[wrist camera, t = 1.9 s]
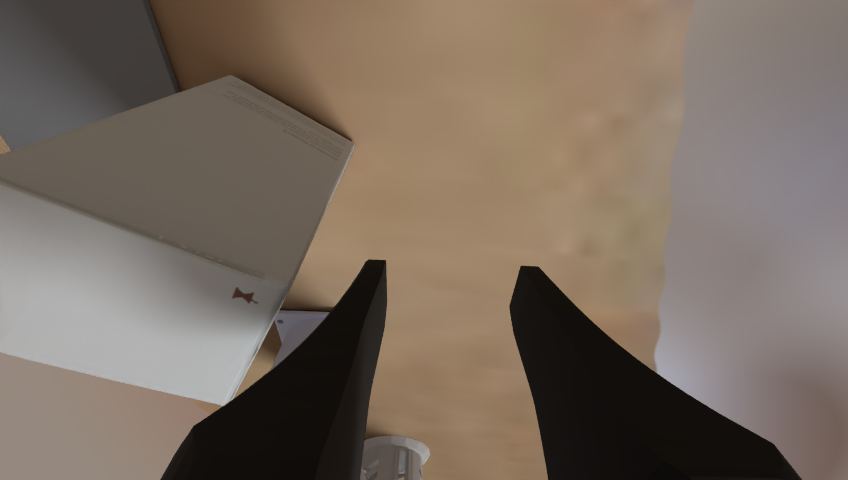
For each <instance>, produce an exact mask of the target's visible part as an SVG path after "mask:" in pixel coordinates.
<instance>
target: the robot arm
mask: <svg viewBox="0 0 848 480" xmlns="http://www.w3.org/2000/svg"><path fill="white" fill-rule="evenodd" d="M509 307H510V314H511V321H512V326H513V332H514V336H515V339H516V343H517V346H518V350H519V353H520V356H521V360H522V363H523V366H524V370H525V373H526V376H527V379H528V383H529V386H530V389H531V393H532V397H533V400H534V404H535V409H536V414H537V419H538V424H539V429H540V434H541V440H542V445H543V451H544V457H545V462H546V468H547V475H548V480H802V479H801V478H800V477H799V476H798V474H797V473H796V471H795V470H794V469H793V468H792V466H791V465H790V464H789V463H788V461H787V460H786V459H785V458H784V456H783V455H782V454H781V453H780V452H779V450H778V449H777V448H776V446H775V445H774V444H773V443H771V442H769V441H768V440H766V439H764V438H762V437H760V436H759V435H757V434H755V433H753V432H751V431H750V430H748V429H746V428H744V427H742V426H741V425H739V424H737V423H735V422H733V421H731V420H730V419H728V418H726V417H724V416H723V415H721V414H719V413H717V412H716V411H714V410H712V409H711V408H709V407H708V406H706V405H704V404H703V403H701V402H699V401H698V400H696V399H695V398H693V397H691V396H690V395H688V394H686V393H685V392H683V391H682V390H680V389H679V388H677V387H676V386H674V385H673V384H671V383H670V382H668V381H667V380H666V379H664V378H663V377H661V376H660V375H658V374H657V373H656V372H654V371H653V370H651V369H650V368H648V367H647V366H646V365H644V364H643V363H642V362H640V361H639V360H637V359H636V358H635V357H634V356H632V355H631V354H630V353H629V352H627V351H626V350H625V349H624V348H622V347H621V346H620V345H618V344H617V343H616V342H615V341H614V340H612V339H611V338H610V337H609V336H608V335H607V334H605V333H604V332H603V331H602V330H601V329H600V328H599V327H598V326H596V325H595V324H594V323H593V322H592V321H591V320H590V319H589V318H588V317H587V316H586V315H585V314H584V313H583V312H582V311H580V310H579V309H578V308H577V307H576V306H575V305H574V304H573V303H572V302H571V301H570V300H569V298H568V297H567V296H566V295H565V294H564V293H563V292H562V291H561V290H560V289H559V288H558V287H557V286H556V285H555V284H554V283H553V282H552V281H551V280H550V278H549V277H548V276H547V275H546V274H545V273H544V272H543V271H542V270H541V269H540V268H539V267H536V266H521V267H520V271H519V274H518V278H517V281H516V285H515V289H514V292H513V296H512V299H511V303H510V306H509ZM386 308H387V279H386V260H367V261H366V262H365V264H364V266H363V267H362V269H361V271H360V272H359V274H358V275H357V277H356V279H355V280H354V281H353V283H352V284H351V286H350V287H349V289H348V290H347V291H346V293H345V294H344V295H343V297H342V298H341V299H340V301H339V302H338V303H337V304H336V306H335V307H334V308H333V309H332V310H331V312H311V311H284V310H279V312H278V313H277V315H276V317H275V319H274V321H275V324H276V327H277V330H278V333H279V336H280V339H281V343H282V345H281V348H280V350H279V352H278V354H277V357H276V359H275V361H274V364H273V366H272V368H271V371H269V372H268V373H267V374H265V375H264V376H263V377H262V378H260V379H259V380H258V381H257V382H255V383H254V384H253V385H251V386H250V387H249V388H248V389H246V390H245V391H244V392H242V393H241V394H240V395H238V396H237V397H236V398H234V399H233V400H231V401H230V402H228V403H227V404H226V405H224V406H223V407H221V408H220V409H218V410H217V411H215V412H214V413H212V414H211V415H210V416H208V417H207V418H205V419H204V420H202V421H201V422H199V423H198V424H196V425H195V426H193V428H192V429H191V431H190V433H189V434H188V436H187V437H186V439H185V440H184V441H183V442H182V444H181V445H180V447H179V449H178V450H177V452H176V453H175V455H174V457H173V458H172V460H171V462H170V464H169V465H168V467H167V469H166V471H165V473H164V474H163V476H162V478H161V480H366V477H365V473H364V471H363V469H362V468H361V466H362V457H363V449H364V440H365V431H366V423H367V415H368V407H369V399H370V394H371V388H372V383H373V380H374V374H375V369H376V365H377V360H378V356H379V351H380V346H381V342H382V337H383V332H384V327H385V318H386Z"/></svg>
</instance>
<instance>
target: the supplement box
mask: <svg viewBox="0 0 848 480" xmlns="http://www.w3.org/2000/svg"><path fill="white" fill-rule="evenodd" d="M354 147H355V144H354V143H353V142H351V141H349V140H348V139H346V138H344V137H342V136H341V135H339V134H337V133H336V132H334V131H332V130H330V129H328V128H326V127H325V126H323V125H321V124H319V123H317V122H316V121H314V120H312V119H311V118H309V117H307V116H305V115H303V114H301V113H300V112H298V111H296V110H294V109H293V108H291V107H289V106H287V105H285V104H284V103H282V102H280V101H278V100H276V99H275V98H273V97H271V96H269V95H268V94H266V93H264V92H262V91H260V90H258V89H257V88H255V87H253V86H252V85H250V84H248V83H246V82H244V81H242V80H240V79H238V78H237V77H235V76H232V75H228V76H225V77H222V78H219V79H217V80H214V81H211V82H207V83H205V84H202V85H199V86H196V87H193V88H191V89H188V90H185V91H182V92H179V93H176V94H173V95H170V96H168V97H165V98H162V99H159V100H156V101H153V102H150V103H148V104H145V105H142V106H139V107H136V108H133V109H130V110H127V111H124V112H122V113H119V114H116V115H113V116H110V117H107V118H105V119H102V120H99V121H96V122H93V123H90V124H87V125H84V126H81V127H78V128H76V129H73V130H70V131H67V132H64V133H61V134H58V135H55V136H52V137H50V138H47V139H45V140H42V141H39V142H36V143H33V144H30V145H27V146H24V147H21V148H18V149H15V150H13V151H10V152H7V153H5V154H1V155H0V352H1V353H5V354H9V355H13V356H17V357H20V358H24V359H27V360H31V361H36V362H40V363H44V364H48V365H52V366H56V367H60V368H65V369H69V370H73V371H77V372H82V373H86V374H89V375H94V376H98V377H102V378H106V379H110V380H115V381H118V382H123V383H127V384H132V385H136V386H140V387H145V388H149V389H154V390H158V391H162V392H167V393H171V394H175V395H179V396H184V397H188V398H193V399H197V400H201V401H206V402H210V403H214V404H218V405H222V406H224V405H226V404H227V403H228V402H230V401H231V400H233V398H234V396H235V394H236V392H237V390H238V388H239V386H240V384H241V382H242V380H243V379H244V377H245V375H246V373H247V371H248V369H249V367H250V365H251V363H252V361H253V360H254V358H255V356H256V354H257V352H258V350H259V349H260V346H261V344H262V342H263V341H264V339H265V337H266V335H267V333H268V331H269V329H270V327H271V325H272V323H273V321H274V319H275V317H276V315H277V313H278V312H279V310H280V308H281V306H282V304H283V302H284V300H285V298H286V296H287V293H288V292H289V290H290V288H291V286H292V284H293V281H294V279H295V277H296V275H297V273H298V271H299V268H300V266H301V264H302V262H303V260H304V257H305V255H306V253H307V251H308V249H309V247H310V244H311V242H312V240H313V238H314V236H315V233H316V231H317V229H318V227H319V225H320V222H321V220H322V218H323V216H324V214H325V211H326V209H327V207H328V205H329V202H330V200H331V198H332V196H333V194H334V192H335V189H336V187H337V185H338V183H339V181H340V178H341V176H342V174H343V172H344V169H345V167H346V165H347V163H348V160H349V158H350V156H351V153H352V151H353V149H354Z"/></svg>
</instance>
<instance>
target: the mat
mask: <svg viewBox="0 0 848 480" xmlns="http://www.w3.org/2000/svg"><path fill="white" fill-rule="evenodd" d="M179 92H180V89H179V86H178V83H177V81H176V78H175V75H174V72H173V69H172V66H171V64H170V61H169V58H168V55H167V52H166V49H165V47H164V44H163V41H162V38H161V35H160V33H159V30H158V27H157V24H156V21H155V18H154V16H153V13H152V10H151V7H150V4H149V1H148V0H0V134H1V136H2V137H3V139H4V140H5V142H6V143H7V145H8V146H9V147H10V149H11V150H12V151H13V150H15V149H18V148H21V147H24V146H27V145H30V144H33V143H36V142H39V141H42V140H45V139H47V138H50V137H52V136H55V135H58V134H61V133H64V132H67V131H70V130H73V129H76V128H78V127H81V126H84V125H87V124H90V123H93V122H96V121H99V120H102V119H105V118H107V117H110V116H113V115H116V114H119V113H122V112H124V111H127V110H130V109H133V108H136V107H139V106H142V105H145V104H148V103H150V102H153V101H156V100H159V99H162V98H165V97H168V96H170V95H173V94H176V93H179Z"/></svg>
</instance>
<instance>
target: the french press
mask: <svg viewBox="0 0 848 480" xmlns="http://www.w3.org/2000/svg"><path fill="white" fill-rule="evenodd" d="M429 455H430V452H429V449H428V447H427V446H425V445H424V444H423V443H421V442H420V441H417V440H414V439H411V438H408V437H402V436H393V435H389V436H377V437H373V438H370V439H367V440H364V449H363V457H362V466H361V468H362V469H364V470H365V471H366V472H367V473H365V477H366V480H398V479H400V478H403V477H404V480H422V465H423V464H424V463H425V462H426V461H427V459H428V457H429ZM368 477H369V479H368Z"/></svg>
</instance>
